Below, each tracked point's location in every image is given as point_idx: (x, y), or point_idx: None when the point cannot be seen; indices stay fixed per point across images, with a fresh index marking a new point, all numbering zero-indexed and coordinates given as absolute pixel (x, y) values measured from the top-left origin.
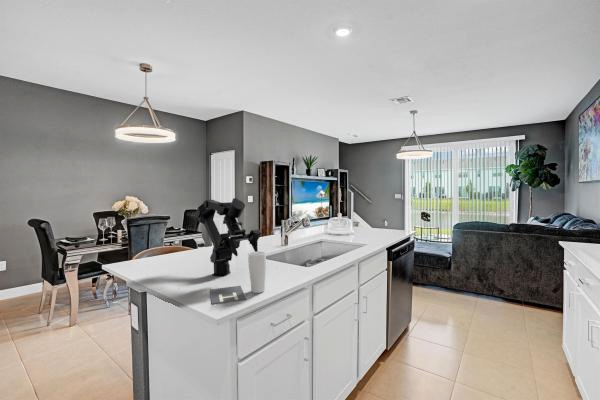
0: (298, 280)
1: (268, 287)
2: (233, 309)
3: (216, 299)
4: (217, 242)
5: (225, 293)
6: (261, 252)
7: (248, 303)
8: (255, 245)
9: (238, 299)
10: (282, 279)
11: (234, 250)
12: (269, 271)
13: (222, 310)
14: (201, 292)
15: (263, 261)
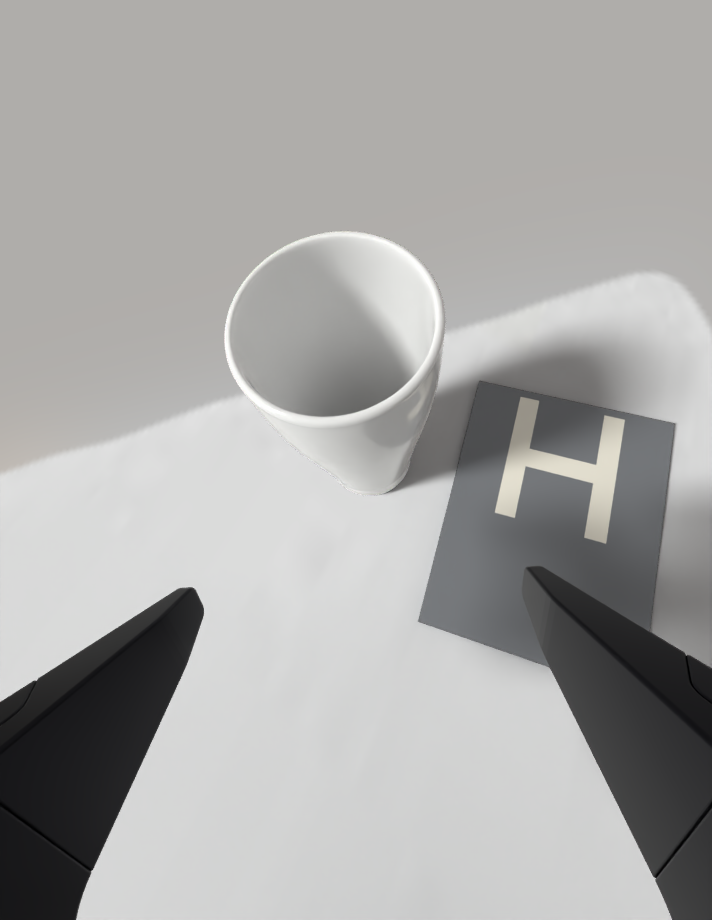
0: (91, 479)
1: (289, 480)
2: (579, 311)
3: (636, 468)
4: None
5: (559, 534)
6: (241, 371)
7: (489, 335)
8: (123, 651)
9: (520, 396)
10: (137, 561)
11: (608, 611)
12: None
13: (632, 327)
14: None
15: (321, 292)
